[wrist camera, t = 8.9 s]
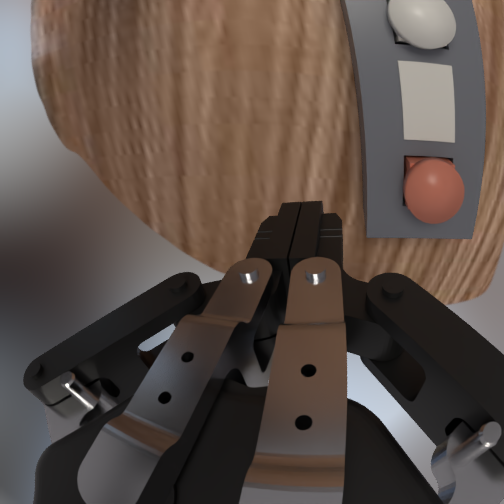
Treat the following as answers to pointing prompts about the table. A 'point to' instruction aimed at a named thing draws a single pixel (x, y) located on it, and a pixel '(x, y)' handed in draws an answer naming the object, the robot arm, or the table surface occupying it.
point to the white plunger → (421, 23)
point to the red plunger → (432, 188)
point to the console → (416, 115)
